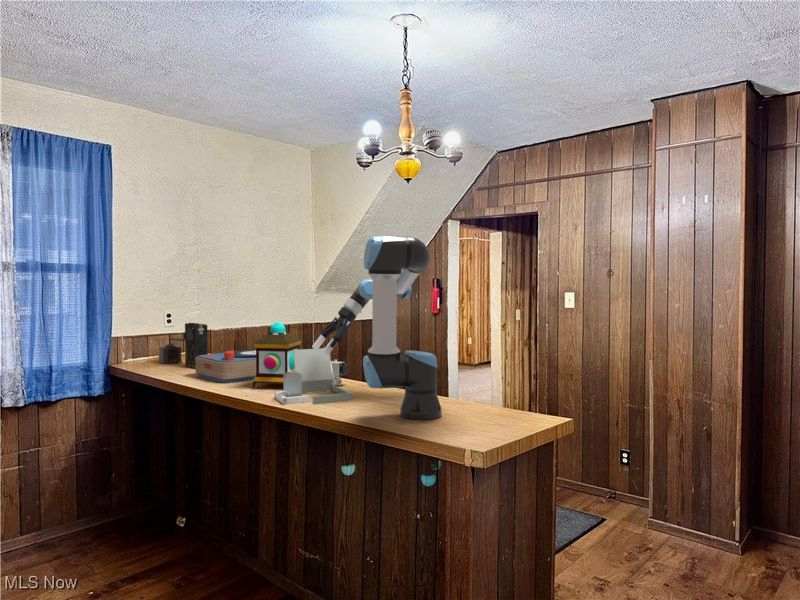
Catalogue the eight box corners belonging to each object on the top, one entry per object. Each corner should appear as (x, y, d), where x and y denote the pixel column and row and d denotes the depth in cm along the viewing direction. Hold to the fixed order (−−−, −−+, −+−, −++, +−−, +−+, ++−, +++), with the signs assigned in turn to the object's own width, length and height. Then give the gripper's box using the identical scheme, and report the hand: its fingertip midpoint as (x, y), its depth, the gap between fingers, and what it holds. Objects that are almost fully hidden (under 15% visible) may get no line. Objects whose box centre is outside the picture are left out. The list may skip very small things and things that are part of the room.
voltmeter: (183, 366, 320) (182, 322, 320) (198, 364, 326) (197, 322, 326) (194, 369, 309) (194, 324, 308) (209, 367, 315) (209, 323, 314)
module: (301, 400, 229) (301, 372, 228) (287, 402, 226) (287, 374, 226) (297, 398, 234) (297, 370, 233) (283, 399, 231) (283, 372, 231)
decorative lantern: (290, 390, 249) (290, 323, 248) (248, 389, 252) (248, 323, 251) (305, 383, 269) (305, 320, 268) (267, 381, 272) (266, 320, 271)
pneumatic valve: (342, 387, 258) (342, 361, 257) (322, 384, 264) (322, 359, 263) (349, 385, 263) (349, 359, 262) (329, 382, 269) (329, 358, 268)
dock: (308, 402, 226) (308, 395, 226) (284, 404, 221) (284, 398, 221) (298, 395, 238) (298, 389, 238) (274, 398, 234) (274, 392, 233)
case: (354, 400, 230) (354, 354, 229) (313, 404, 222) (313, 357, 221) (330, 388, 254) (330, 347, 253) (293, 392, 246) (293, 349, 245)
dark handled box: (164, 364, 327) (163, 334, 327) (158, 362, 336) (157, 332, 335) (190, 362, 337) (190, 332, 337) (184, 360, 346) (184, 331, 345)
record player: (263, 367, 321) (263, 341, 320) (300, 374, 296) (300, 346, 295) (189, 376, 289) (189, 347, 289) (224, 385, 264) (224, 353, 264)
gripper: (368, 319, 231) (337, 360, 225) (345, 314, 253) (316, 352, 247) (355, 307, 228) (323, 349, 222) (333, 304, 250) (303, 341, 244)
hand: (319, 350), depth 235 cm, fingers open, 13 cm apart
